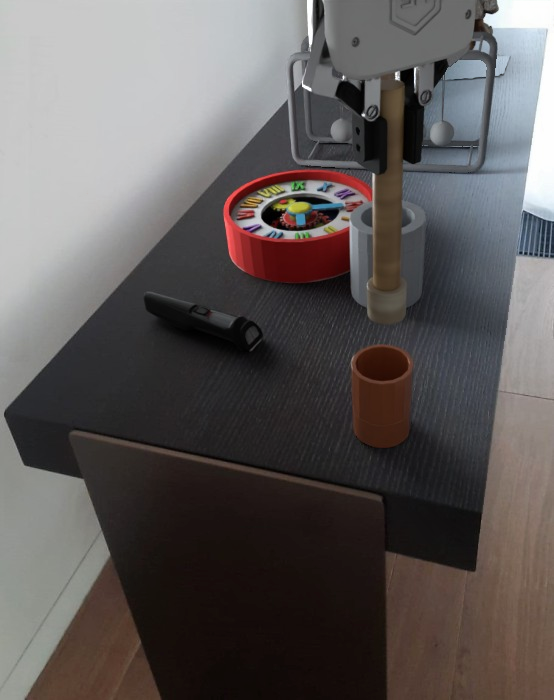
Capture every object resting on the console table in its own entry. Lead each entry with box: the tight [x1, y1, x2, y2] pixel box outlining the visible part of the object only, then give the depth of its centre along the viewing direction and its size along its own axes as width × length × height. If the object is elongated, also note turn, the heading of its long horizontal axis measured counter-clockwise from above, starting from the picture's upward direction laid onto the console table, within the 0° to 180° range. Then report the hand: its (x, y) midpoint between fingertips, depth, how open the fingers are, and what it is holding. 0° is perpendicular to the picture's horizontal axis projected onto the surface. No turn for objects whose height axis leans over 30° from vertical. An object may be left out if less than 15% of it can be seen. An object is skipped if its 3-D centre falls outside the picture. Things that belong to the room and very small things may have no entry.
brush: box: [366, 79, 407, 326], centre depth 53 cm, size 3×3×19 cm
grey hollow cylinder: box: [349, 199, 427, 309], centre depth 81 cm, size 8×8×10 cm
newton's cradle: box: [285, 32, 499, 174], centre depth 108 cm, size 30×10×18 cm, turn 74°
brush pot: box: [350, 343, 415, 449], centre depth 64 cm, size 5×5×8 cm
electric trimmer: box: [143, 291, 264, 352], centre depth 81 cm, size 4×16×3 cm, turn 58°
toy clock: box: [223, 169, 373, 284], centre depth 93 cm, size 20×6×20 cm
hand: (387, 160), depth 51 cm, fingers closed on brush, 2 cm apart
